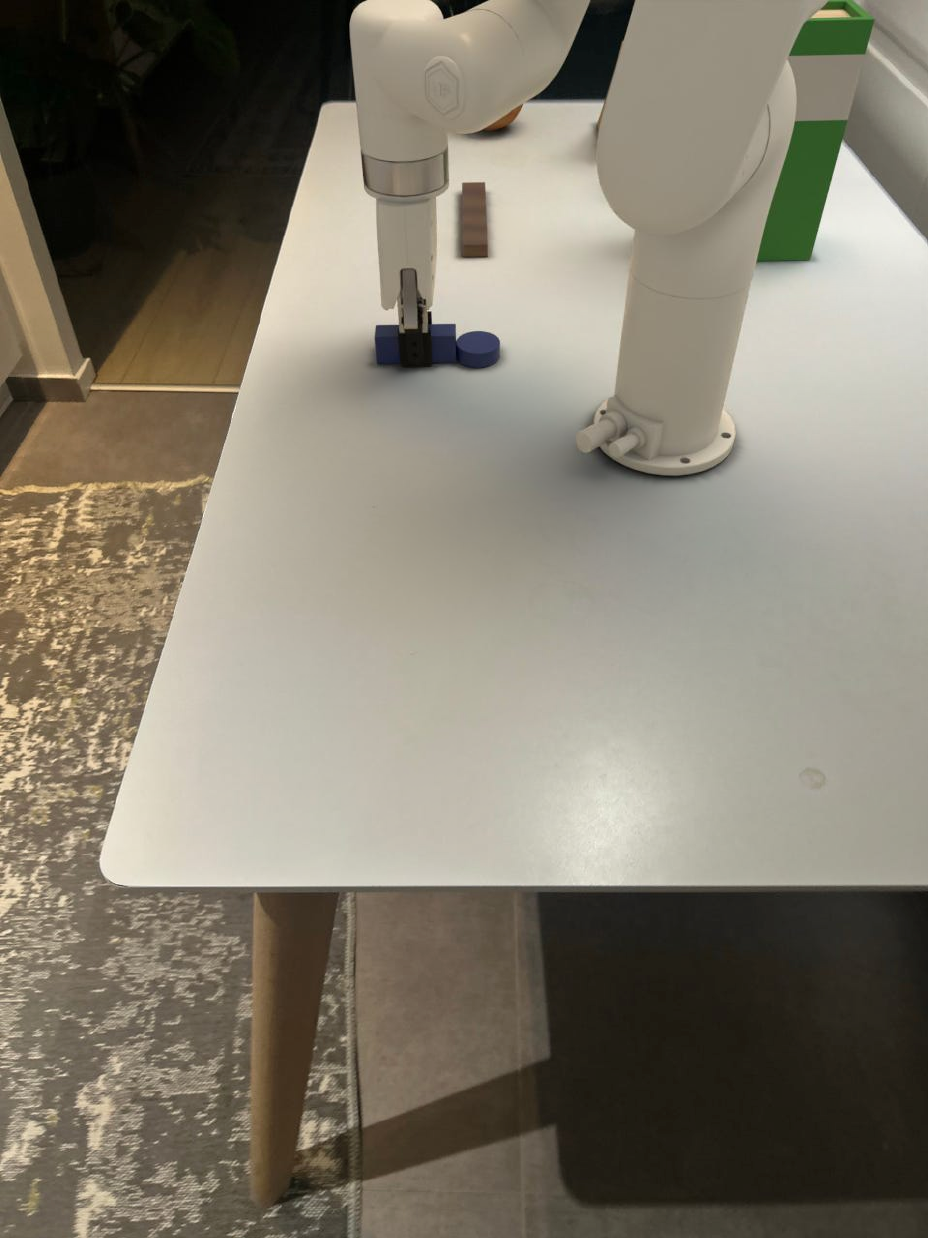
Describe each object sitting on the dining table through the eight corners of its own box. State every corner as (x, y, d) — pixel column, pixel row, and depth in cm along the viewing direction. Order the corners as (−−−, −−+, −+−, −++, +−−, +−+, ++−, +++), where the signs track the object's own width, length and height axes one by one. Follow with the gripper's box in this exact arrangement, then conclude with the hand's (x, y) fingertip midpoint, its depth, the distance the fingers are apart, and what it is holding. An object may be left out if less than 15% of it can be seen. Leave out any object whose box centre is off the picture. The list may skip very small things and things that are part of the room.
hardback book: (657, 263, 106) (692, 22, 89) (647, 234, 111) (678, 2, 94) (810, 259, 106) (874, 18, 89) (793, 231, 111) (851, -2, 94)
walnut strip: (487, 256, 108) (487, 244, 107) (462, 257, 108) (462, 244, 107) (485, 193, 121) (485, 181, 119) (462, 193, 121) (462, 182, 119)
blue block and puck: (376, 369, 92) (373, 342, 90) (379, 346, 95) (376, 319, 93) (500, 367, 92) (500, 340, 90) (499, 344, 95) (499, 317, 93)
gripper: (368, 134, 85) (384, 317, 99) (355, 208, 74) (374, 402, 88) (449, 133, 85) (454, 316, 99) (447, 206, 74) (453, 401, 88)
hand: (416, 355), depth 93 cm, fingers closed on blue block and puck, 2 cm apart
